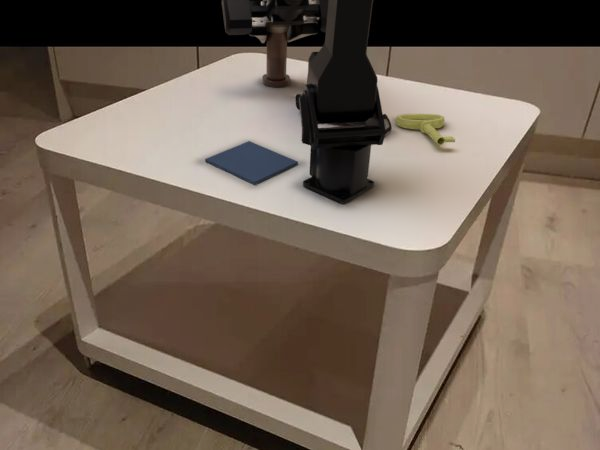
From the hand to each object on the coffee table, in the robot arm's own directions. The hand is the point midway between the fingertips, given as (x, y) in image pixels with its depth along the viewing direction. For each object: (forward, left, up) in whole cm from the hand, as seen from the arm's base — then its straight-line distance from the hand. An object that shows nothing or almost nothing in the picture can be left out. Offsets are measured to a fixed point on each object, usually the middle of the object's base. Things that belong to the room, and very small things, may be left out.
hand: (275, 39), depth 104 cm
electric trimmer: (-20, +7, -7) cm, 22 cm away
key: (-31, +1, -7) cm, 32 cm away
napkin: (-20, +26, -7) cm, 34 cm away
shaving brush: (-1, +1, -7) cm, 7 cm away
